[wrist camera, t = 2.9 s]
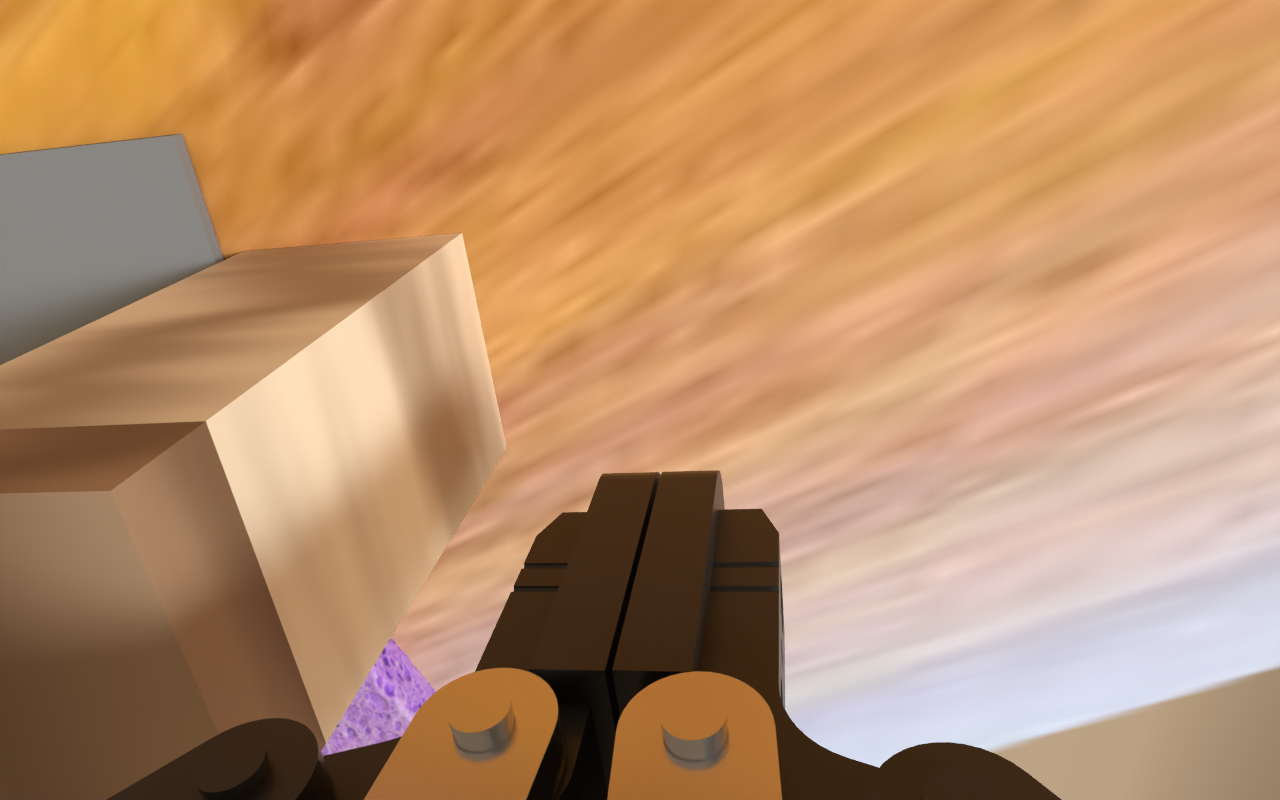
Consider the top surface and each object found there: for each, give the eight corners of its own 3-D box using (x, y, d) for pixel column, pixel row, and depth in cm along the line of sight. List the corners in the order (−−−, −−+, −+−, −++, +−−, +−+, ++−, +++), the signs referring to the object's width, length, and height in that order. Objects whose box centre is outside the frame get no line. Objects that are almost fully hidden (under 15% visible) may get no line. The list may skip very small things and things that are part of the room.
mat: (182, 133, 17) (172, 135, 17) (317, 541, 21) (311, 548, 21) (-190, 175, 19) (-204, 178, 18) (3, 544, 23) (-6, 551, 23)
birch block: (461, 232, 17) (111, 490, 8) (506, 447, 19) (266, 840, 10) (243, 251, 18) (-287, 500, 9) (308, 453, 20) (-70, 819, 11)
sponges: (30, 664, 26) (-22, 711, 24) (338, 539, 22) (301, 585, 20) (176, 814, 28) (139, 867, 26) (480, 727, 24) (458, 782, 22)
